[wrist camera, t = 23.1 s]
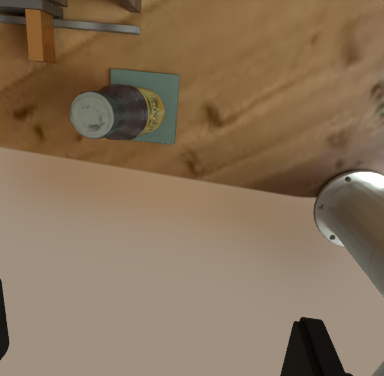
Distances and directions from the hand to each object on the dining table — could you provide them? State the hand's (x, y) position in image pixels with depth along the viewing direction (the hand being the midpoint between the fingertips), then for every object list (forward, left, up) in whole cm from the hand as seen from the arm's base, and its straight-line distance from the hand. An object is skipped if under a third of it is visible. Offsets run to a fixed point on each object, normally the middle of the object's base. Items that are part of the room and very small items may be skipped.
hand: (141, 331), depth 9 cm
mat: (+10, -4, -38) cm, 40 cm away
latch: (+28, -13, -38) cm, 49 cm away
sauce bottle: (+9, -4, -38) cm, 39 cm away
